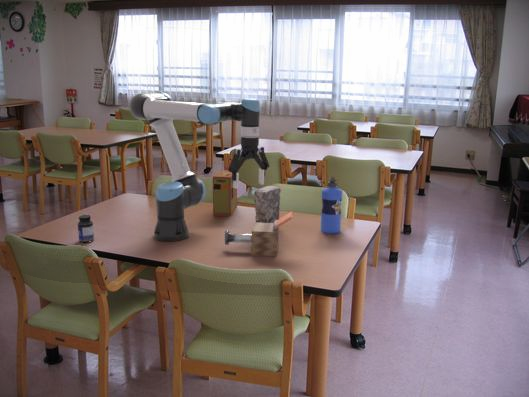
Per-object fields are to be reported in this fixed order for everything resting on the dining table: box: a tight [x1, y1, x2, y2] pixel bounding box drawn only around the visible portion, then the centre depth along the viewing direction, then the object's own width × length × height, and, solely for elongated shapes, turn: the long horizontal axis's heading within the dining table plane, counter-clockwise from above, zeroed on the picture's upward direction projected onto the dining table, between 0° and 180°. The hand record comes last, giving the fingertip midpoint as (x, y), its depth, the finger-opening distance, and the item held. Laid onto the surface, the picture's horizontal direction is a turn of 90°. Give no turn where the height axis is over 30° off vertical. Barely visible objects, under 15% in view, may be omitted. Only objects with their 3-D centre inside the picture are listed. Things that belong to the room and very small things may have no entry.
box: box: [212, 169, 238, 217], centre depth 275 cm, size 17×9×20 cm, turn 172°
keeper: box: [273, 210, 294, 230], centre depth 216 cm, size 9×9×2 cm
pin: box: [224, 229, 252, 246], centre depth 219 cm, size 17×6×6 cm, turn 85°
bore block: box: [251, 222, 280, 257], centre depth 218 cm, size 10×12×10 cm
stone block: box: [253, 185, 281, 223], centre depth 244 cm, size 13×7×20 cm, turn 151°
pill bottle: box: [77, 214, 95, 243], centre depth 228 cm, size 6×6×11 cm
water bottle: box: [320, 176, 343, 235], centre depth 243 cm, size 9×9×25 cm
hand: (248, 186), depth 228 cm, fingers open, 13 cm apart
